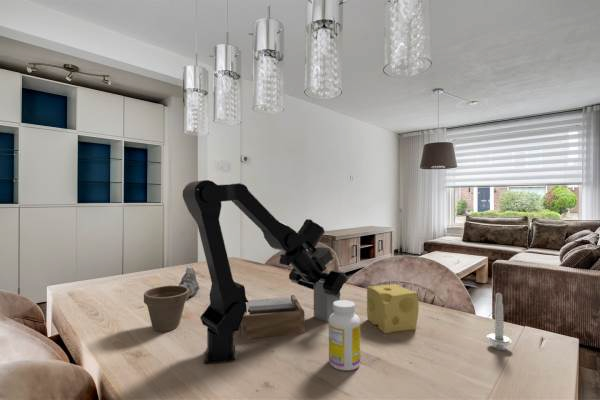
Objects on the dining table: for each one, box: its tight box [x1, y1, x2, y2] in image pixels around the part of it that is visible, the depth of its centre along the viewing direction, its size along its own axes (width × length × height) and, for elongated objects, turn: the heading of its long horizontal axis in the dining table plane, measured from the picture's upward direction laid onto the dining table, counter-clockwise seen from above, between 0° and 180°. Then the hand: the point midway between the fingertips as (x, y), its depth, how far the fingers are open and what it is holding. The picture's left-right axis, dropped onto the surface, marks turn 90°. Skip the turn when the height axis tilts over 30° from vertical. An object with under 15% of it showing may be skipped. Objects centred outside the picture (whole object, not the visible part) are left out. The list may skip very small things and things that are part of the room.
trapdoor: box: [246, 297, 295, 314], centre depth 87 cm, size 12×13×3 cm
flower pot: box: [143, 285, 189, 333], centre depth 85 cm, size 12×11×10 cm
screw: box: [486, 292, 512, 351], centre depth 73 cm, size 13×5×5 cm
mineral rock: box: [178, 266, 200, 298], centre depth 113 cm, size 13×11×10 cm
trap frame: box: [241, 294, 305, 339], centre depth 87 cm, size 14×16×6 cm
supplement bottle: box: [328, 299, 361, 372], centre depth 66 cm, size 7×7×13 cm
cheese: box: [366, 283, 420, 334], centre depth 87 cm, size 10×11×10 cm
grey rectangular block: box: [313, 281, 341, 323], centre depth 92 cm, size 6×6×11 cm
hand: (329, 293), depth 93 cm, fingers open, 7 cm apart
